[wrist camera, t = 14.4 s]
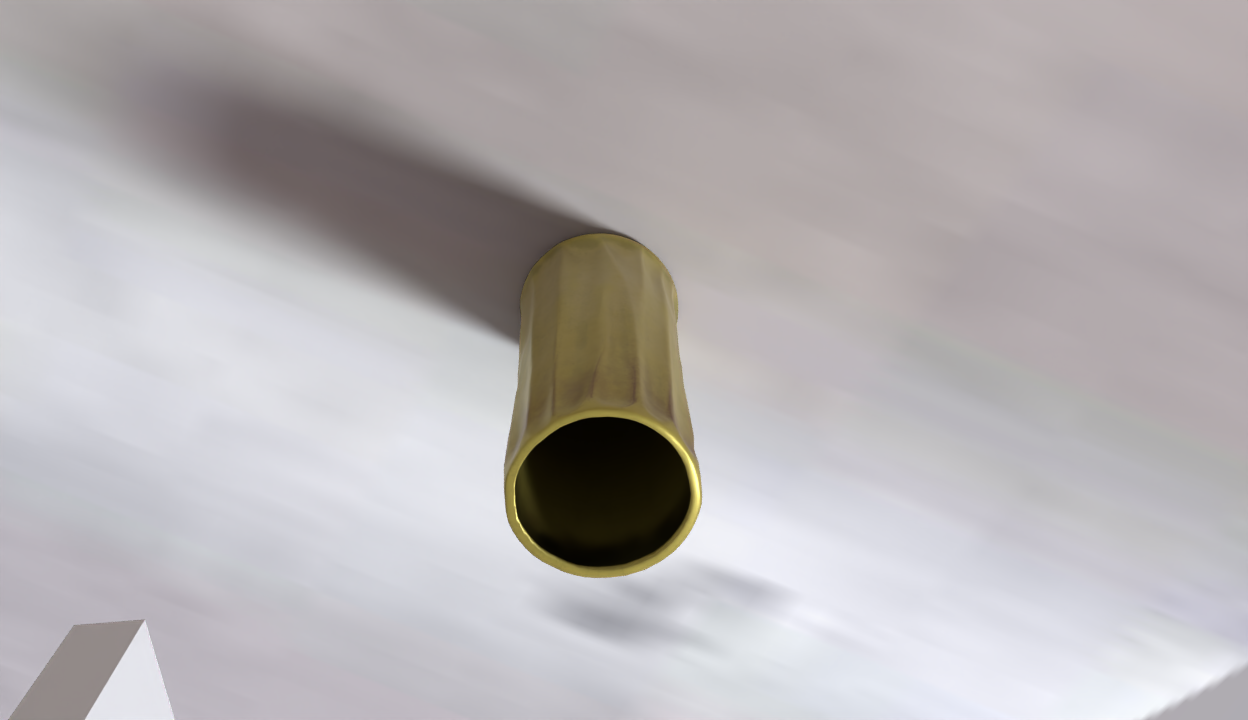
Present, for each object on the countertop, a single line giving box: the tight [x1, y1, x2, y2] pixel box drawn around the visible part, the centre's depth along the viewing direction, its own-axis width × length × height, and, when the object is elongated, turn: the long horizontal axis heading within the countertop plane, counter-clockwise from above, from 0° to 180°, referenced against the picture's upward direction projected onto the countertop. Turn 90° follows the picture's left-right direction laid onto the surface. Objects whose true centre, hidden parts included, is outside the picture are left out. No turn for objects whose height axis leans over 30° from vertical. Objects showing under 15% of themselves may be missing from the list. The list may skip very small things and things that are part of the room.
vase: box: [504, 233, 702, 578], centre depth 33 cm, size 6×6×14 cm
